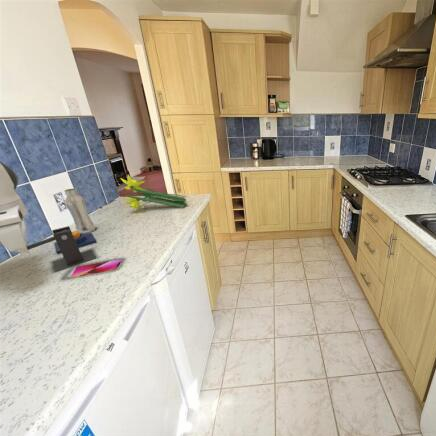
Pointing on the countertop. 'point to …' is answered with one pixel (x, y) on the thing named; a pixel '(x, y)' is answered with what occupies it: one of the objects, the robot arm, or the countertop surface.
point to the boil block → (80, 241)
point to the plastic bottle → (78, 211)
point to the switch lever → (41, 242)
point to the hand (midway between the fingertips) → (26, 252)
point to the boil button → (76, 234)
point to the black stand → (69, 250)
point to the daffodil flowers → (151, 195)
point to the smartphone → (96, 268)
